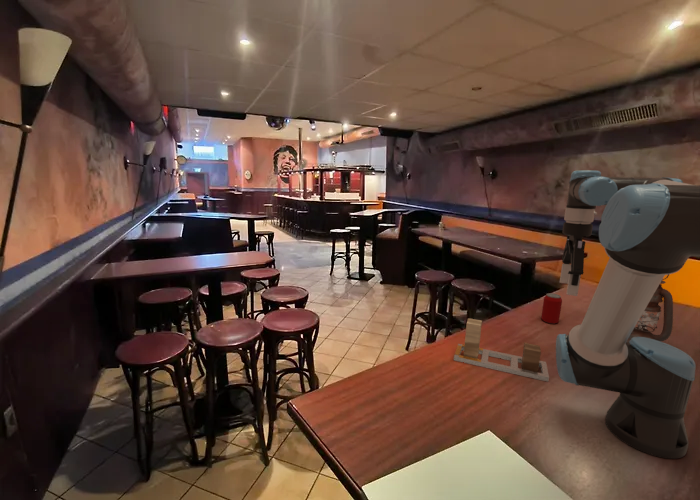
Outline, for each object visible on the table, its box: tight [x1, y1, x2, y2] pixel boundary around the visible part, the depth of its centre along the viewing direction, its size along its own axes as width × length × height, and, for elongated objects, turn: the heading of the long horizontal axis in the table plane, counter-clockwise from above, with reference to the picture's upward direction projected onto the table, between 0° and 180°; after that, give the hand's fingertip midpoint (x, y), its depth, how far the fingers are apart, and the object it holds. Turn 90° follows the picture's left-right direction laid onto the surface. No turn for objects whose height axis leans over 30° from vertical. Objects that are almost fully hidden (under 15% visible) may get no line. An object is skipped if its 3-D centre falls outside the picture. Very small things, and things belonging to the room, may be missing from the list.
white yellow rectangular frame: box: [453, 343, 550, 382], centre depth 114 cm, size 10×28×2 cm, turn 65°
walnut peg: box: [520, 342, 542, 373], centre depth 110 cm, size 4×4×8 cm
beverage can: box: [540, 292, 563, 325], centre depth 148 cm, size 7×7×12 cm
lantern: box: [626, 274, 674, 344], centre depth 127 cm, size 11×16×35 cm
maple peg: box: [463, 318, 483, 359], centre depth 117 cm, size 4×4×13 cm
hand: (567, 288), depth 109 cm, fingers open, 13 cm apart
